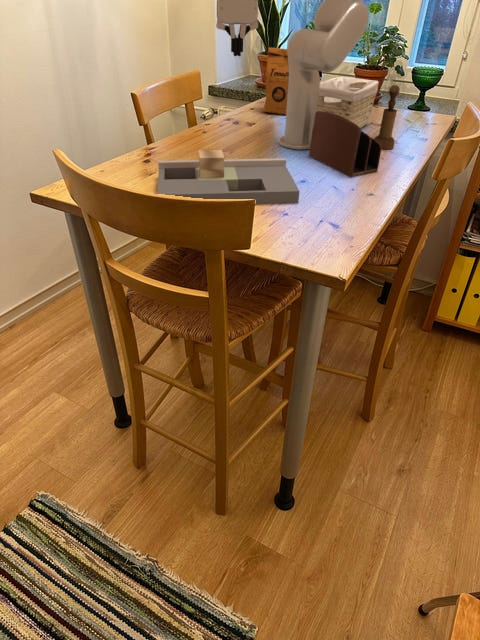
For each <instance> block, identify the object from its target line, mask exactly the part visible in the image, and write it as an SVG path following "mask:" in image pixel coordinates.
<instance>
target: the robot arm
mask: <svg viewBox="0 0 480 640" xmlns="http://www.w3.org/2000/svg"><path fill="white" fill-rule="evenodd" d="M369 15H370V14H369V9H368V7H367V4H365V2H363V0H323V2H322V3H321V4H320V6H319V7H318V9H317V11H316V12H315V15H314V18H313V26H314V28H315V29H310V28H303V29H302V28H301V29H299V30H297V31H295V32H294V33H293V34H292V36H291V37H290V39H289V41H288V45H287V49H288V64H289V84H288V96H287V109H286V115H285V123H284V124H285V125H284V135H283V136H281V137H279V142H278V143H279V145H280V146H282V147H284V148H287V149H291V150H300V151H301V150H310V145H311V138H312V130H313V125H314V118H315V113H316V112H317V108H318V99H319V91H320V82H321V79H320V72H323V73H331V72H334V71H336V70H337V69H338V68H339V67H340V66H341V65H342V63H343V62H344V61H345V60H346V58H347V57H348V56H349V55H350V54H351V52H352V50H353V49H354V48H355V47H356V45H357V44H358V43H359V42H360V40H361V39H362V37H363V36H364V33H365V32H366V29H367V27H368V24H369V18H370V17H369ZM258 18H259V0H216V19H217V20H216V25H215V26H216V29H218V30H221V31H224V32H226V34H228V36H230V51H231V53H232V54H233V56H234V57H237V56H238V57H241V56H242V55H241V54H242V53H244V39H245V37H246V35H248V34H249V32H251V31H254V30H257V29H258V28H259V21H258ZM235 25H239V29H238V35H236V29H235V28H236V27H235Z"/></svg>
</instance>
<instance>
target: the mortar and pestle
mask: <svg viewBox="0 0 480 640" xmlns="http://www.w3.org/2000/svg"><path fill="white" fill-rule="evenodd" d="M400 89H401V88H400V86H399V85H397V84H394V85H391V86H390V87H389V89H388V94H389V96H390V97H389V100H388V103H387V104H388V105H387V107H388V108H384V109H383V111H382V112H383V113H382V119H381V123H380V128H379V132H378V135H376V136H375V137H373V139H375V140H376V141H378V142H379V143H380V144H381V147H382V149H381V150H386V151H387V150H393V149H394V146H395V143H396V140H395V139H394V137H392V135H393V131H394V130H393V129H394V126H395V121H396V116H397V109H395V107H396V104H397V101H396V98H397V96H398V95H399V93H400Z"/></svg>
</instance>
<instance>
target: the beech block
mask: <svg viewBox="0 0 480 640" xmlns="http://www.w3.org/2000/svg"><path fill="white" fill-rule="evenodd" d="M223 152H224V151H223V149H199V150H198V160H199V171H200V177H201V178H218V177H224V159H225V157H224V156H225V155H224V153H223Z"/></svg>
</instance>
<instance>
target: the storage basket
mask: <svg viewBox="0 0 480 640" xmlns="http://www.w3.org/2000/svg"><path fill="white" fill-rule="evenodd" d="M350 87H355V88H360V90H358V91H355V92H354V91H350ZM378 87H379V81H378V80H371V79H367V78H366V79H365V78H358V77H349V76H341V75H340V76H337V77H333V78H329V79H326V80H324V81H320V91H319V99H318V108H317V111H323V112H329V113H333V114H336V115H339V116H341V117H343V118H345V119H347V120H349V121H351V122H353V123H354V124H356V125H357V126H358V127H360V129H362V128H363V127H365V126H366V125H368V124H369V120H370V116H371V114H372V110H373V106H374V102H375V99H376V96H377V93H378V89H379V88H378Z"/></svg>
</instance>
